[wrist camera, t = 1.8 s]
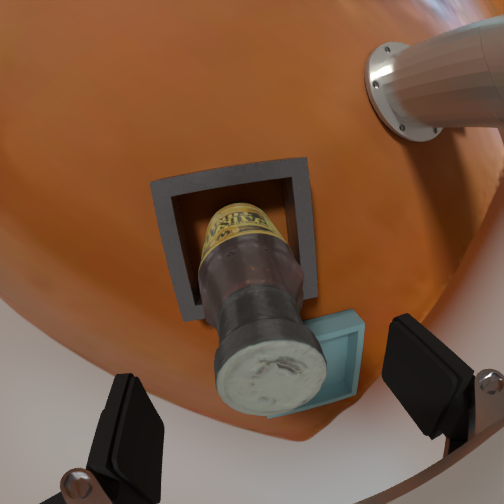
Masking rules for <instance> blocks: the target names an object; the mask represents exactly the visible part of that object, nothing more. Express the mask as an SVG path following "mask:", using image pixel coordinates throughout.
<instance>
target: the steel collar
mask: <svg viewBox="0 0 504 504" xmlns="http://www.w3.org/2000/svg"><path fill="white" fill-rule="evenodd" d="M279 178H281V181H282V190H283V198H284V206H285V215H286V224H287V233H288V243H289V247H290V249H291V250H292V252H293V255H294V258H295V260H296V261H297V262H298V264H299V265H300V266H301V268H302V270H303V273H304V278H303V282H304V284H303V295H304V297H303V300H305V299H310V298H314V297H318V287H317V267H316V250H315V236H314V223H313V212H312V201H311V191H310V181H309V172H308V164H307V157H301V158H286V159H278V160H269V161H261V162H254V163H247V164H240V165H233V166H227V167H221V168H215V169H209V170H203V171H198V172H193V173H187V174H182V175H177V176H172V177H168V178H163V179H159V180H156V181H152V182H150V186H151V192H152V197H153V202H154V207H155V212H156V217H157V221H158V226H159V230H160V235H161V239H162V243H163V248H164V252H165V256H166V260H167V264H168V268H169V272H170V276H171V279H172V283H173V287H174V291H175V294H176V298H177V301H178V305H179V308H180V312H181V315H182V318H183V322H186V321H193V320H199V319H205V315H204V310H203V305H202V299H201V293H200V287H197V284H196V280H195V276H194V272H193V267H192V263H191V259H190V254H189V249H188V245H187V240H186V235H185V231H184V226H183V221H182V216H181V211H180V205H179V200H178V195H181V194H186V193H191V192H197V191H202V190H208V189H213V188H219V187H225V186H231V185H237V184H244V183H250V182H257V181H264V180H271V179H279Z"/></svg>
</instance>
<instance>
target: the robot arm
mask: <svg viewBox="0 0 504 504" xmlns="http://www.w3.org/2000/svg"><path fill="white" fill-rule="evenodd" d="M365 83H366V89H367V92H368V96H369V99H370V101H371V103H372V105H373V108H374V109H375V111H376V113H377V114H378V116H379V117H380V119H381V120H382V121H383V122H384V124H385V125H386V126H387V127H388V128H389V129H390V130H392V131H393V132H394V133H395V134H397V135H398V136H400V137H401V138H404V139H406V140H409V141H415V142H425V141H429V140H432V139H433V138H435V137H436V136H437V135H438V134H439V133H440V132H441V131H442V129H443V128H445V127H493V128H504V14H503V15H499V16H495V17H491V18H488V19H485V20H481V21H478V22H475V23H471V24H468V25H465V26H462V27H459V28H456V29H453V30H450V31H448V32H445V33H442V34H440V35H437V36H434V37H432V38H429V39H427V40H424V41H422V42H419V43H417V44H415V45H412V46H410V45H407V44H404V43H400V42H388V43H385V44H383V45H381V46H379V47H377V48H376V49H374V51H373V52H372V53H371V54H370V56H369V58H368V60H367V62H366V67H365ZM473 373H474V370H472V369H471V368H470V367H469V366H468V365H467V364H466V363H465V362H464V361H463V360H461V359H460V358H459V357H458V356H457V355H456V354H455V353H454V352H453V351H451V350H450V349H449V348H448V347H447V346H446V345H445V344H444V343H442V342H441V341H440V340H439V339H438V338H436V336H434V335H433V334H432V333H431V332H430V331H429V330H427V329H426V328H425V327H424V326H423V325H421V324H420V323H419V322H418V321H417V320H416V319H414V318H413V317H412V316H411V315H410V314H408V313H405V314H403V315H400V316H397V317H395V318H394V319H393V320H392V322H391V323H390V326H389V333H388V339H387V346H386V352H385V358H384V363H383V369H382V378H383V380H384V382H385V383H386V384H387V386H388V387H389V388H390V390H391V391H392V392H393V394H394V395H395V396H396V398H397V399H398V400H399V401H400V403H401V404H402V406H403V407H404V408H405V410H406V411H407V412H408V414H409V415H410V416H411V418H412V419H413V420H414V422H415V423H416V424H417V426H418V427H419V429H420V430H421V431H422V432H423V434H424V435H426V436H429V437H430V438H431V440H433V439H435V438H436V437H438V436H440V435H441V434H442V433H443V434H444V435H445V436H446V441H445V448H444V454H443V459H441V460H440V461H438V462H437V463H435V464H433V465H432V466H430V467H428V468H427V469H425V470H423V471H422V472H420V473H418V474H417V475H415V476H413V477H411V478H409V479H407V480H405V481H403V482H402V483H400V484H397V485H395V486H394V487H391V488H390V489H387V490H385V491H383V492H381V493H378V494H376V495H374V496H372V497H369V498H367V499H364V500H362V501H359V502H357V503H355V504H504V376H503V375H502V374H501V373H500V372H499V371H496V370H493V369H484V370H482V371H480V372H479V373H478V374H477V376H476V377H475V376H474V375H473ZM163 442H164V424H163V421H162V420H161V418H160V416H159V414H158V413H157V411H156V409H155V408H154V406H153V404H152V402H151V400H150V399H149V397H148V395H147V393H146V391H145V389H144V387H143V385H142V383H141V381H140V379H139V378H138V377H134V375H133V374H132V373H126V374H117V375H116V376H115V378H114V381H113V384H112V387H111V390H110V393H109V396H108V399H107V402H106V406H105V409H104V410H103V411H102V413H101V416H100V419H99V422H98V425H97V429H96V432H95V436H94V439H93V443H92V446H91V450H90V454H89V458H88V462H87V466H86V469H83V468H74V469H71V470H69V471H68V472H66V473H65V474H64V475H63V477H62V479H61V481H60V490H61V492H59V493H58V494H56V495H54V496H52V497H51V498H49V499H47V500H45V501H44V502H42V503H40V504H158V503H160V499H161V498H160V497H161V473H162V456H163Z"/></svg>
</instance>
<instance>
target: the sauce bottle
mask: <svg viewBox="0 0 504 504" xmlns="http://www.w3.org/2000/svg"><path fill="white" fill-rule="evenodd" d="M303 278H304V273H303V270H302V268H301V266H300V265H299V264H298V262H297V261H296V260H295V258H294V255H293V252H292V250H291V249H290V247H289V246H288V244H287V243H286V241H285V240H284V238H283V237H282V236H281V234H280V233H279V231H278V230H277V229H276V227H275V226H274V224H273V223H272V221H271V220H270V219H269V217H268V216H267V215H266V214H265V213H264V212H263V211H262V210H261V209H259V208H258V207H256V206H254V205H251V204H249V203H234V204H233V203H232V204H230V205H227V206H224V207H223V208H222V209H220V210H219V211H218V212H216V213H215V215H214V216H213V217H212V218H211V220H210V222H209V224H208V227H207V231H206V236H205V241H204V246H203V250H202V256H201V261H200V268H199V273H198V281H199V287H200V293H201V299H202V305H203V310H204V315H205V319H206V322H207V323H208V324H210V325H212V326H213V327H214V328H216V329H217V332H218V335H219V348H218V349H217V350H216V353H215V360H214V371H215V383H216V389H217V392H218V394H219V395H220V397H221V399H222V400H223V402H225V403H226V404H227V405H228V406H230V407H231V408H233V409H234V410H237V411H239V412H242V413H245V414H250V415H257V416H271V415H276V414H281V413H285V412H289V411H291V410H293V409H295V408H297V407H299V406H301V405H303V404H305V403H307V402H308V401H309V400H311V399H312V398H313V397H314V396H315V395H316V394H317V393H318V392H319V391H320V389H321V386H322V384H323V383H324V381H325V378H326V375H327V361H326V359H325V356H324V354H323V351H322V348H321V345H320V343H319V341H318V339H317V338H316V337H315V335H314V333H313V332H312V331H311V330H310V329H309V328H307V327H306V326H305V325H304V323H303V321H302V319H301V316H300V311H301V309H302V305H303V297H304V295H303V284H304V282H303Z"/></svg>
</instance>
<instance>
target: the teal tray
mask: <svg viewBox="0 0 504 504" xmlns="http://www.w3.org/2000/svg"><path fill="white" fill-rule="evenodd" d="M303 323H304V325H305V326H306V327H307V328H309V329H310V330H311V331H312V332H313V333H314V335H315V337H316V338H317V339H318V341H319V343H320V345H321V348H322V351H323V354H324V356H325V359H326V361H327V375H326V378H325V381H324V383H323V384H322V386H321V389H320V391H319V392H318V393H317V394H316V395H315V396H314V397H313V398H312V399H311V400H309V401H308V402H307V403H305V404H303V405H301V406H299V407H297V408H295V409H293V410H291V411H289V412H285V413H281V414H276V415H271V416H267V418H268V419H269V418H274V417H279V416H283V415H288V414H292V413H296V412H300V411H304V410H308V409H312V408H315V407H319V406H322V405H326V404H329V403H332V402H336V401H339V400H342V399H345V398H348V397H351V396H354V395H356V393H357V387H358V380H359V373H360V365H361V358H362V349H363V339H364V329H365V323H364V322H363V320H362V319H361V318H360V317H359V316H358V315H357V314H356V312H355V311H354V310H353V309H349V310H345V311H341V312H338V313H334V314H330V315H326V316H321V317H317V318H313V319H309V320H305V321H303Z"/></svg>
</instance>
